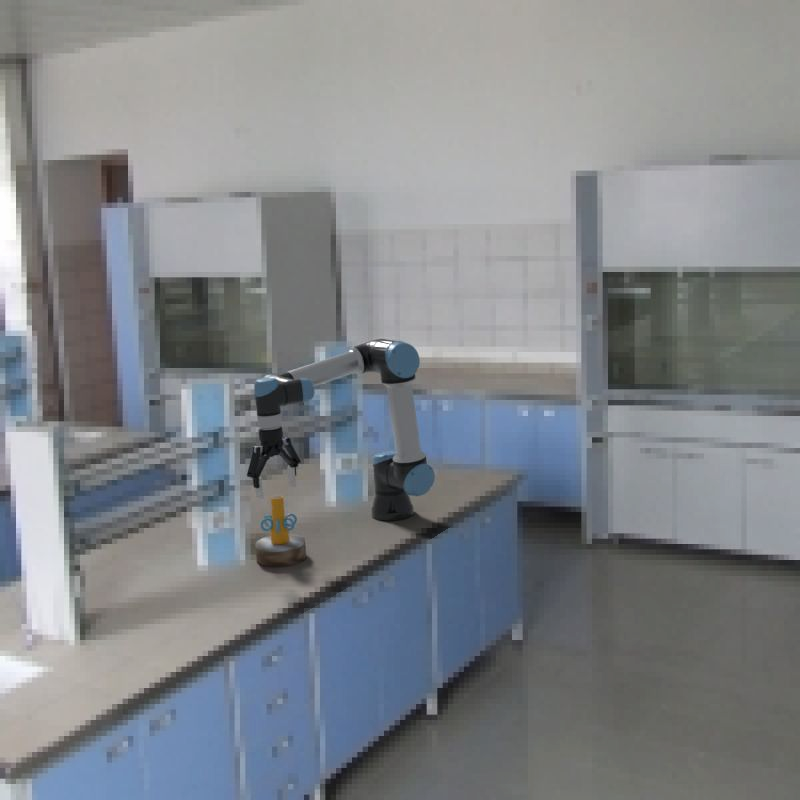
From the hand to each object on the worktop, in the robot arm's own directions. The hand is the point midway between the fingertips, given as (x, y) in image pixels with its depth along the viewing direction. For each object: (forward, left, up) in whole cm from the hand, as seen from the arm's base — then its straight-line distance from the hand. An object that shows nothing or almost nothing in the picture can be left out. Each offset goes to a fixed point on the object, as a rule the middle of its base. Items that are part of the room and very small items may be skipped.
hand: (276, 491), depth 345 cm
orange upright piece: (0, 0, -17) cm, 17 cm away
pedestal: (0, 0, -22) cm, 22 cm away
